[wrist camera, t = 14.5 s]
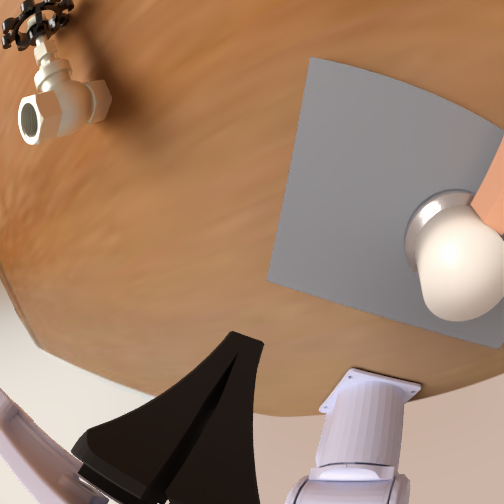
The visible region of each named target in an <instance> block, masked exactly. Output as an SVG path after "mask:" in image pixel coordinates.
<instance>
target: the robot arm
mask: <svg viewBox="0 0 504 504" xmlns="http://www.w3.org/2000/svg"><path fill="white" fill-rule="evenodd" d="M263 346H264V343H263V342H262V341H259V340H256V339H254V338H251V337H248V336H245V335H242V334H240V333H237V332H234V331H231V332H229V334H228V335H227V336H226V337H225V339H224V340H223V341H222V342H221V343H220V344H219V345H218V347H217V348H216V349H215V350H214V351H213V352H212V353H211V354H210V355H209V356H208V357H207V358H206V359H205V360H204V361H202V362H201V363H200V364H199V365H198V366H197V367H196V368H195V369H194V370H192V371H191V372H190V373H189V374H188V375H186V376H185V377H184V378H183V379H181V380H180V381H179V382H178V383H176V384H175V385H174V386H172V387H171V388H169V389H168V390H167V391H165V392H164V393H162V394H161V395H159V396H158V397H156V398H154V399H153V400H151V401H149V402H148V403H146V404H144V405H142V406H141V407H139V408H137V409H135V410H133V411H131V412H129V413H127V414H125V415H122V416H120V417H118V418H116V419H114V420H111V421H109V422H106V423H103V424H100V425H98V426H95V427H92V428H90V429H88V430H87V431H86V432H85V433H84V434H83V435H82V436H81V437H80V438H79V439H78V441H77V442H76V444H75V445H74V447H73V448H72V450H71V453H72V454H73V455H74V456H75V457H77V458H78V459H79V460H81V461H82V462H83V463H81V462H80V461H79V460H77V459H76V458H75V457H73V456H72V455H71V454H69V453H68V452H67V451H66V450H65V449H63V448H62V447H61V446H60V445H58V444H57V443H56V442H55V441H54V440H52V439H51V438H50V437H49V436H48V435H47V434H46V433H45V432H44V431H43V430H41V429H40V428H39V427H38V426H37V425H36V424H35V423H34V422H33V420H32V419H31V418H30V417H29V416H28V415H27V414H26V413H25V412H24V411H23V410H22V409H21V408H20V407H19V406H18V405H17V404H16V403H15V402H13V401H12V400H11V399H10V398H9V397H8V396H7V395H6V394H5V392H4V391H3V390H2V389H1V388H0V455H1V456H2V458H3V459H4V460H5V462H6V463H7V465H8V466H9V468H10V469H11V470H12V472H13V473H14V474H15V475H16V477H17V478H18V479H19V481H20V482H21V483H22V484H23V486H24V487H25V488H26V489H27V490H28V492H29V493H30V494H31V495H32V496H33V497H34V499H35V500H36V501H37V502H38V503H39V504H107V503H108V502H109V499H108V498H106V497H105V496H104V495H103V494H105V495H107V496H108V497H109V498H111V499H113V500H114V501H116V502H117V503H119V504H157V503H159V504H165V503H166V501H167V500H169V502H170V503H169V504H260V500H259V494H258V487H257V480H256V472H255V461H254V449H253V402H254V390H255V380H256V373H257V367H258V364H259V360H260V357H261V353H262V350H263ZM420 389H421V385H420V384H417V383H413V382H408V381H403V380H399V379H395V378H390V377H386V376H382V375H378V374H374V373H370V372H366V371H362V370H359V369H354V368H352V369H349V370H348V372H347V373H346V374H345V376H344V377H343V378H342V380H341V381H340V382H339V384H338V385H337V386H336V387H335V389H334V390H333V391H332V393H331V394H330V395H329V396H328V398H327V399H326V400H325V401H324V403H323V404H322V405H321V406H320V408H319V411H320V412H322V413H326V418H325V422H324V426H323V430H322V434H321V438H320V442H319V445H318V449H317V452H316V465H317V468H311V472H310V475H309V476H304V477H303V478H301V479H300V480H299V481H298V482H297V483H296V484H295V485H294V486H293V487H292V489H291V490H290V492H289V494H288V496H287V498H286V501H285V504H408V502H409V494H410V480H409V479H408V478H407V477H406V476H405V475H404V474H398V471H397V470H398V464H399V456H400V448H401V439H402V427H403V413H404V412H403V411H404V404H405V403H406V402H407V401H408V400H410V399H411V398H412V397H413V396H414V395H415V394H416V393H417V392H418V391H420ZM79 477H80V478H82V479H83V480H84V481H86V482H87V483H89V484H90V485H91V486H90V485H88V484H86V483H84V482H82V481H80V480H79ZM92 486H93V487H94V488H93V487H92ZM95 488H96V489H97V490H96V489H95ZM98 490H99V491H100V492H102V493H103V494H102V493H100V492H99V491H98Z"/></svg>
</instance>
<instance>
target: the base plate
mask: <svg viewBox="0 0 504 504" xmlns="http://www.w3.org/2000/svg"><path fill="white" fill-rule="evenodd" d="M503 136H504V130H502V129H501V128H499V127H497V126H496V125H494V124H492V123H491V122H489V121H487V120H485V119H484V118H482V117H480V116H478V115H476V114H474V113H472V112H471V111H469V110H467V109H465V108H463V107H461V106H459V105H457V104H455V103H452V102H450V101H448V100H446V99H444V98H442V97H439V96H437V95H435V94H432V93H430V92H428V91H425V90H423V89H420V88H418V87H415V86H412V85H410V84H407V83H404V82H402V81H399V80H396V79H393V78H390V77H387V76H384V75H381V74H378V73H374V72H371V71H368V70H364V69H361V68H357V67H353V66H350V65H346V64H342V63H337V62H333V61H329V60H324V59H319V58H314V57H310V62H309V67H308V73H307V79H306V84H305V90H304V95H303V101H302V106H301V112H300V117H299V122H298V128H297V133H296V138H295V144H294V149H293V154H292V159H291V164H290V169H289V174H288V179H287V184H286V189H285V194H284V199H283V204H282V209H281V214H280V219H279V224H278V229H277V233H276V238H275V243H274V248H273V252H272V257H271V262H270V266H269V271H268V276H267V280H266V281H269V282H272V283H275V284H278V285H281V286H285V287H288V288H291V289H294V290H297V291H300V292H303V293H306V294H310V295H313V296H316V297H319V298H322V299H326V300H329V301H332V302H335V303H338V304H342V305H345V306H348V307H351V308H355V309H358V310H361V311H365V312H368V313H371V314H374V315H378V316H381V317H384V318H388V319H391V320H395V321H398V322H401V323H405V324H408V325H412V326H415V327H419V328H422V329H426V330H429V331H433V332H436V333H440V334H443V335H447V336H450V337H454V338H457V339H461V340H465V341H468V342H472V343H476V344H479V345H483V346H487V347H491V348H494V349H499V348H500V347H501V346H502V345H503V344H504V297H503V298H502V299H501V300H500V301H499V303H498V304H497V305H496V306H494V307H493V308H492V309H491V310H490V311H488V312H487V313H485V314H483V315H481V316H479V317H477V318H474V319H471V320H467V321H460V322H455V321H448V320H444V319H441V318H439V317H437V316H436V315H434V314H433V313H432V312H431V311H430V310H429V309H428V307H427V306H426V304H425V301H424V298H423V293H422V288H421V283H420V278H419V273H418V268H417V264H416V259H415V244H416V240H417V237H418V234H419V232H420V230H421V229H422V227H423V226H424V224H425V223H426V222H427V221H428V220H429V219H430V218H431V217H432V216H433V215H434V214H436V213H437V212H439V211H440V210H442V209H445V208H447V207H450V206H455V205H466V206H471V205H470V204H471V202H472V201H473V199H474V197H475V195H476V193H477V191H478V190H479V188H480V186H481V184H482V182H483V180H484V178H485V176H486V174H487V172H488V170H489V168H490V166H491V164H492V161H493V159H494V157H495V155H496V153H497V150H498V148H499V146H500V144H501V141H502V139H503ZM471 207H472V206H471ZM498 234H499V233H498ZM499 235H500V237H501V238H502V239H503V241H504V233H503V235H501V234H499Z"/></svg>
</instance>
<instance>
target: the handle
mask: <svg viewBox="0 0 504 504" xmlns="http://www.w3.org/2000/svg"><path fill="white" fill-rule="evenodd" d="M470 205H471V206H472V207H471V206H466V205H455V206H450V207H447V208H445V209H442V210H440V211H439V212H437V213H436V214H434V215H433V216H432V217H431V218H430V219H429V220H428V221H427V222H426V223H425V224H424V226H423V227H422V229H421V230H420V232H419V234H418V237H417V240H416V244H415V259H416V264H417V268H418V273H419V278H420V283H421V288H422V293H423V298H424V301H425V304H426V306H427V307H428V309H429V310H430V311H431V312H432V313H433V314H434V315H436V316H437V317H439V318H441V319H444V320H448V321H455V322H460V321H467V320H471V319H474V318H477V317H479V316H481V315H483V314H485V313H487V312H488V311H490V310H491V309H492V308H493V307H494V306H496V305H497V304H498V303H499V301H500V300H501V299H502V298H503V297H504V241H503V239H502V238H501V237H500V235H499V234H501V235H503V233H504V136H503V139H502V141H501V144H500V146H499V148H498V150H497V153H496V155H495V157H494V159H493V161H492V164H491V166H490V168H489V170H488V172H487V174H486V176H485V178H484V180H483V182H482V184H481V186H480V188H479V190H478V191H477V193H476V195H475V197H474V199H473V201H472V202H471V204H470ZM498 233H499V234H498Z"/></svg>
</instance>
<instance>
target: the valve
mask: <svg viewBox="0 0 504 504" xmlns="http://www.w3.org/2000/svg"><path fill="white" fill-rule="evenodd" d="M60 1H61V0H45V1H43V2H41V3H38V4H35V2H34V0H26V1H24V2H23V3H22V4H21V12H22V14H20V15H19V16H18V17H17V18H8V19H6V20H5V21H4V22H3V24H2V29H3V34H6V35H5V36H4V37H3V38H2V45H3V48H4V49H8V48H10V47H11V42H12V41H14V40H15V41H16V45H17V47H18V50H19V51H23V50H25V49H27V48H28V47H29V45H32V46H37V47H36V48H35V49H34V55H35V58H36V62H37V65H38V66H40V67H39V69H40V70H39V71H38V73H37V74H36V75H35V77H34V82H35V85H36V88H37V91H39V92H42V93H38V94H34V95H31V96H28V97H24V98H22V101H21V104H20V107H19V113H18V121H19V128H20V132H21V134H22V137H23V138H24V140H25V142H26V143H27V144H40V143H42V142H45V141H47V140H50V139H52V138H54V137H66V136H70V135H72V134H74V133H76V132H78V131H79V130H81V129H82V128H83V127H84V126H85V125H86V124H93V123H96V122H99V121H102V120H105V118H106V115H107V113H108V110H109V107H110V105H111V102H112V96H111V94H110V92H109V89H108V87H107V85H106V82H105V80H104V79H103V80H96V81H89V82H84V83H81V82H79V81H74V80H71V78H70V76H71V74H72V68H71V66H70V63H69V61H68V60H66V59H60V58H56V57H57V49H56V46H55V43H54V40H48V39H49V38H50V37H51V35H53V34H55V33H56V32H57V31H58V30H59V28H60V27H63V26H65V25H66V24H67V23H68V22H69V19H68V17H67V14H66V13H62V11H63V10H66V9H67V10H68V12H69V11H71V10H72V9H73V8H74V3H73V0H62V1H61V2H60ZM57 2H60V3H57ZM42 10H52V11H54V15H53V17H52V18H51V20H50V21H49V20H48V19H46V16H45V14H42V12H41V11H42ZM33 14H34V16H33V17H32V18H31V19H30V20H29V21H28V22H27V26H28V29H27V33H21V32H19V31H18V30H19V27H20V26H21V24H22V23H23V22H24V21H25V20H26V19H27V18H28V17H29V16H31V15H33ZM9 30H11V33H8V32H9Z"/></svg>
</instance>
